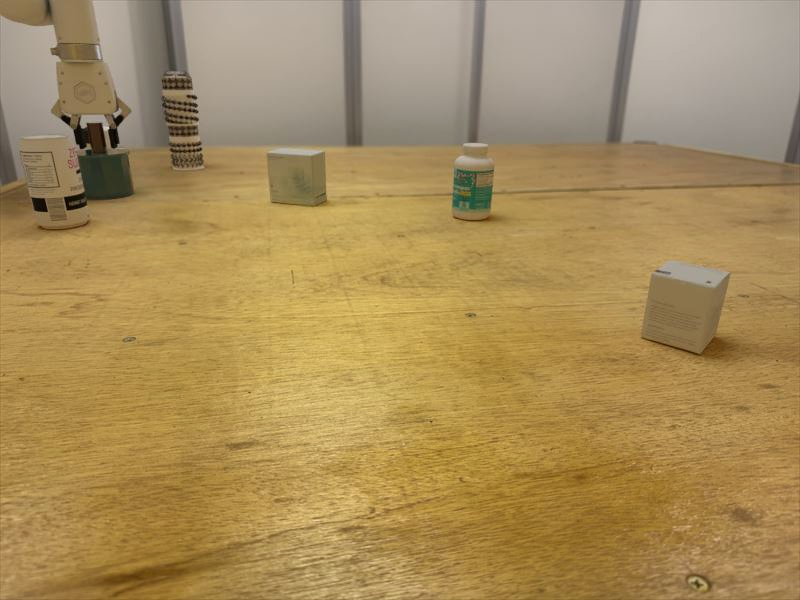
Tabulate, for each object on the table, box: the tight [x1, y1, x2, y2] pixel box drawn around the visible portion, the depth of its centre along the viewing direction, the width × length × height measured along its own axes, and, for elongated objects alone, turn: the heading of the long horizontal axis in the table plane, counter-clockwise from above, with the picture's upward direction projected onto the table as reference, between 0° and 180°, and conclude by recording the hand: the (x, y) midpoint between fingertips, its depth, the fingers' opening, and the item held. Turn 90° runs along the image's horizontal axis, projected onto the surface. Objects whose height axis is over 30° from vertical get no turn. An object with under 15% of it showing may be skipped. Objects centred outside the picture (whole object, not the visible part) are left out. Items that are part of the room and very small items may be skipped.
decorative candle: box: [160, 70, 205, 172], centre depth 149 cm, size 9×9×25 cm
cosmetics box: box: [265, 147, 328, 207], centre depth 114 cm, size 10×6×10 cm, turn 71°
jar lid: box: [76, 121, 131, 159], centre depth 116 cm, size 11×11×7 cm
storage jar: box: [78, 155, 135, 201], centre depth 119 cm, size 10×10×8 cm
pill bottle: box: [451, 142, 495, 221], centre depth 103 cm, size 8×7×14 cm
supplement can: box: [17, 133, 91, 230], centre depth 94 cm, size 8×8×15 cm
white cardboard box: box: [640, 259, 731, 355], centre depth 57 cm, size 6×6×7 cm
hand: (98, 147), depth 117 cm, fingers open, 5 cm apart
